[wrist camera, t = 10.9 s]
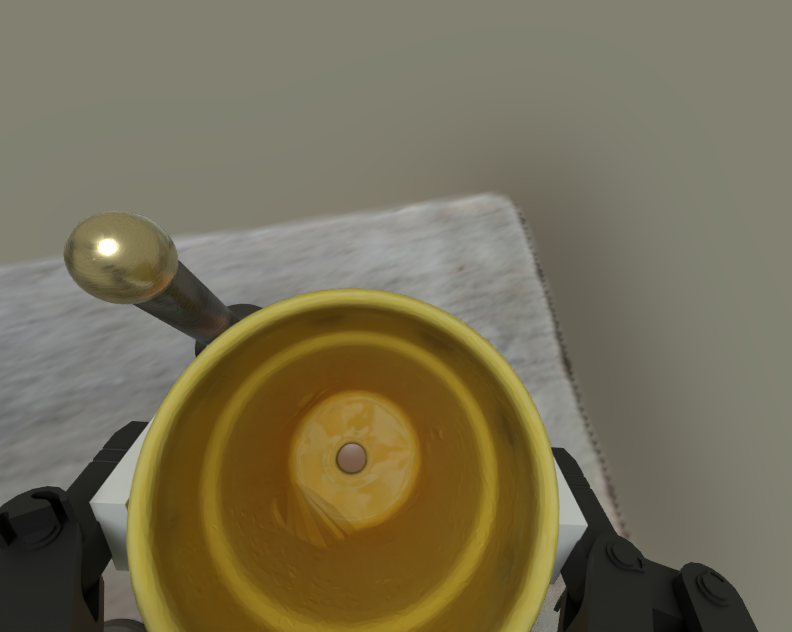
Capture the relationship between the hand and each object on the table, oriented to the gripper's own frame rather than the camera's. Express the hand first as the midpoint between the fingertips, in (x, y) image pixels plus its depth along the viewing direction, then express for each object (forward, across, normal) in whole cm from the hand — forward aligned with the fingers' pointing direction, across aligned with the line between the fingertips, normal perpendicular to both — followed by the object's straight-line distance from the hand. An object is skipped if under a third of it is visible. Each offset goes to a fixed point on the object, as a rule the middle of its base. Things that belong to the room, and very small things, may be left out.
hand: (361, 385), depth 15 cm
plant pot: (+1, 0, -5) cm, 5 cm away
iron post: (+11, -9, -6) cm, 16 cm away
